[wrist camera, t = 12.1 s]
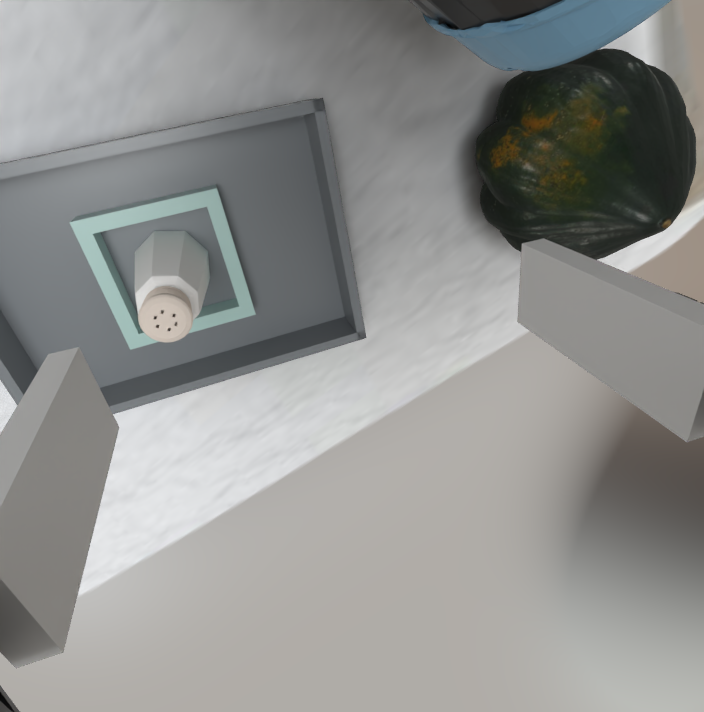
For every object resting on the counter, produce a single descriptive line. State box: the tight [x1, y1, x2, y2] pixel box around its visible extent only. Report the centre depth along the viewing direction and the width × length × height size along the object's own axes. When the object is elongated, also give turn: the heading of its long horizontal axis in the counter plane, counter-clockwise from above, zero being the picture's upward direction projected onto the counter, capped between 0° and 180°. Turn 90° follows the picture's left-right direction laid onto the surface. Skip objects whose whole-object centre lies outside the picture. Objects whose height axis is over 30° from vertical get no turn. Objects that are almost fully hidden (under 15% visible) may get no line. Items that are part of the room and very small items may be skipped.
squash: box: [475, 49, 696, 260], centre depth 35 cm, size 14×15×15 cm
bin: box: [0, 98, 366, 414], centre depth 34 cm, size 17×25×4 cm
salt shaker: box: [135, 231, 210, 343], centre depth 30 cm, size 5×5×11 cm
